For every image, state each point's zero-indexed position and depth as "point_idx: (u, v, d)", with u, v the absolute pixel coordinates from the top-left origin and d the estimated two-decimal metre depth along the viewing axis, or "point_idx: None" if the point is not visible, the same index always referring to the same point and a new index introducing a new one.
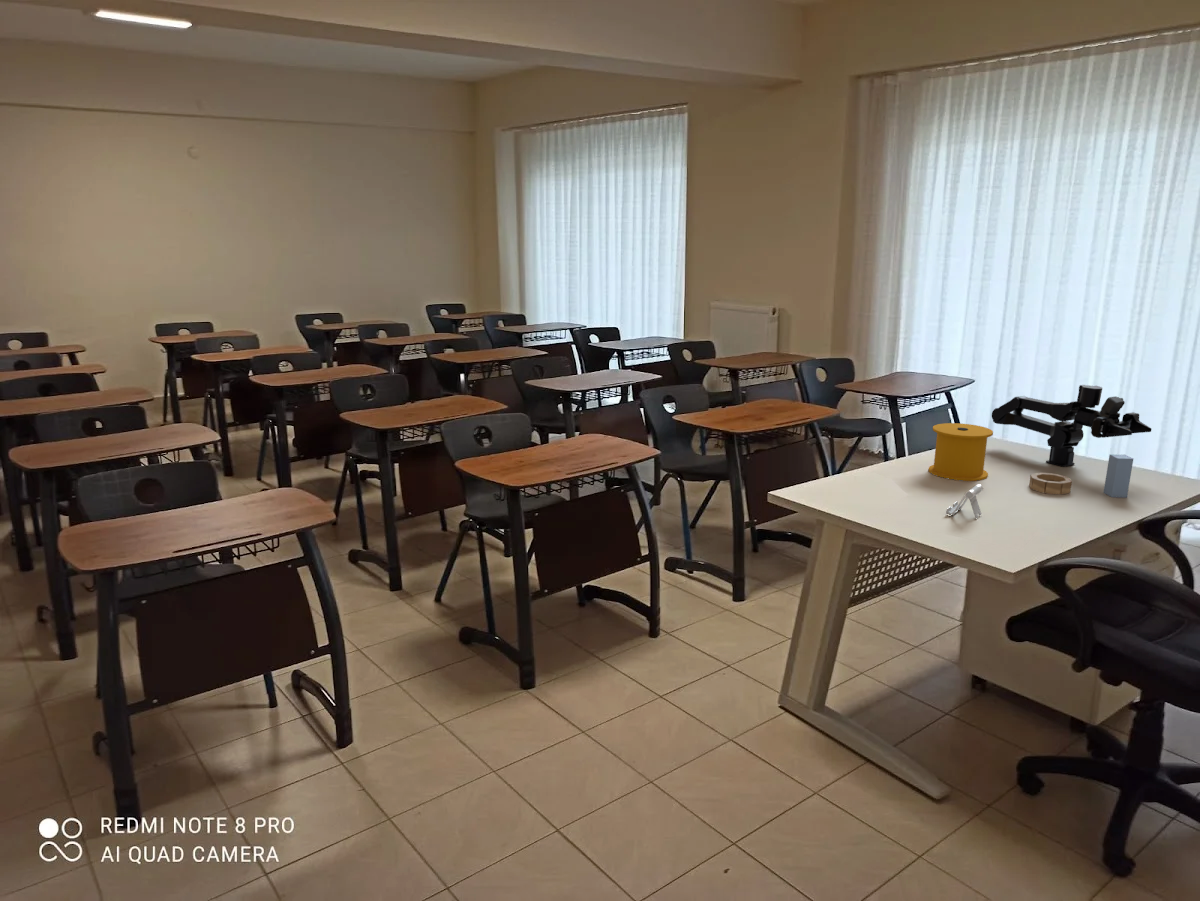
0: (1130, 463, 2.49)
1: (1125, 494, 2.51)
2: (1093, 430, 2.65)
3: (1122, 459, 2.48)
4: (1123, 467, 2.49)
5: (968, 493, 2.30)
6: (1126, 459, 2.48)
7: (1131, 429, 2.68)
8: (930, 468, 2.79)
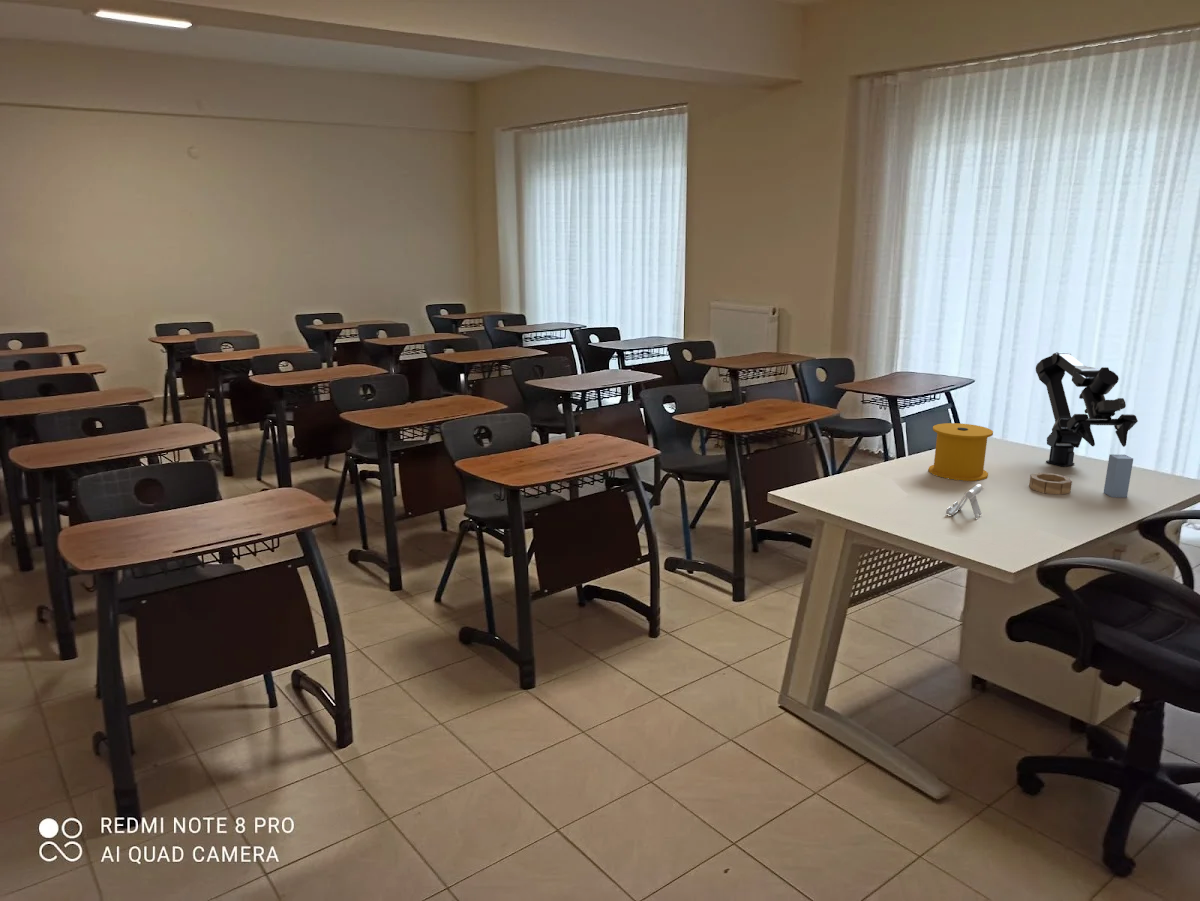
0: (1130, 463, 2.49)
1: (1125, 494, 2.51)
2: (1068, 422, 2.63)
3: (1122, 459, 2.48)
4: (1123, 467, 2.49)
5: (968, 493, 2.30)
6: (1126, 459, 2.48)
7: (1117, 431, 2.61)
8: (930, 468, 2.79)
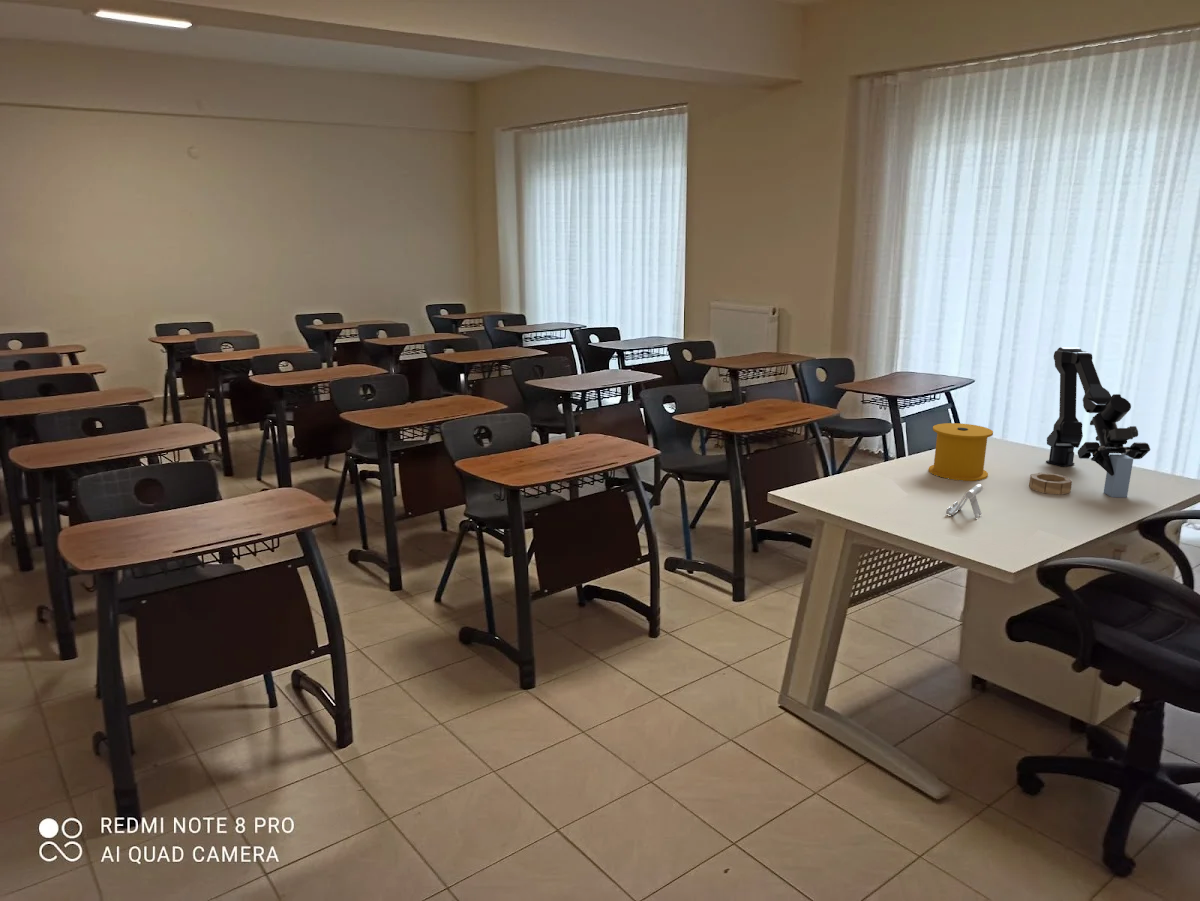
0: (1130, 463, 2.49)
1: (1125, 494, 2.51)
2: (1079, 450, 2.56)
3: (1122, 459, 2.48)
4: (1123, 467, 2.49)
5: (968, 493, 2.30)
6: (1126, 459, 2.48)
7: None
8: (930, 468, 2.79)
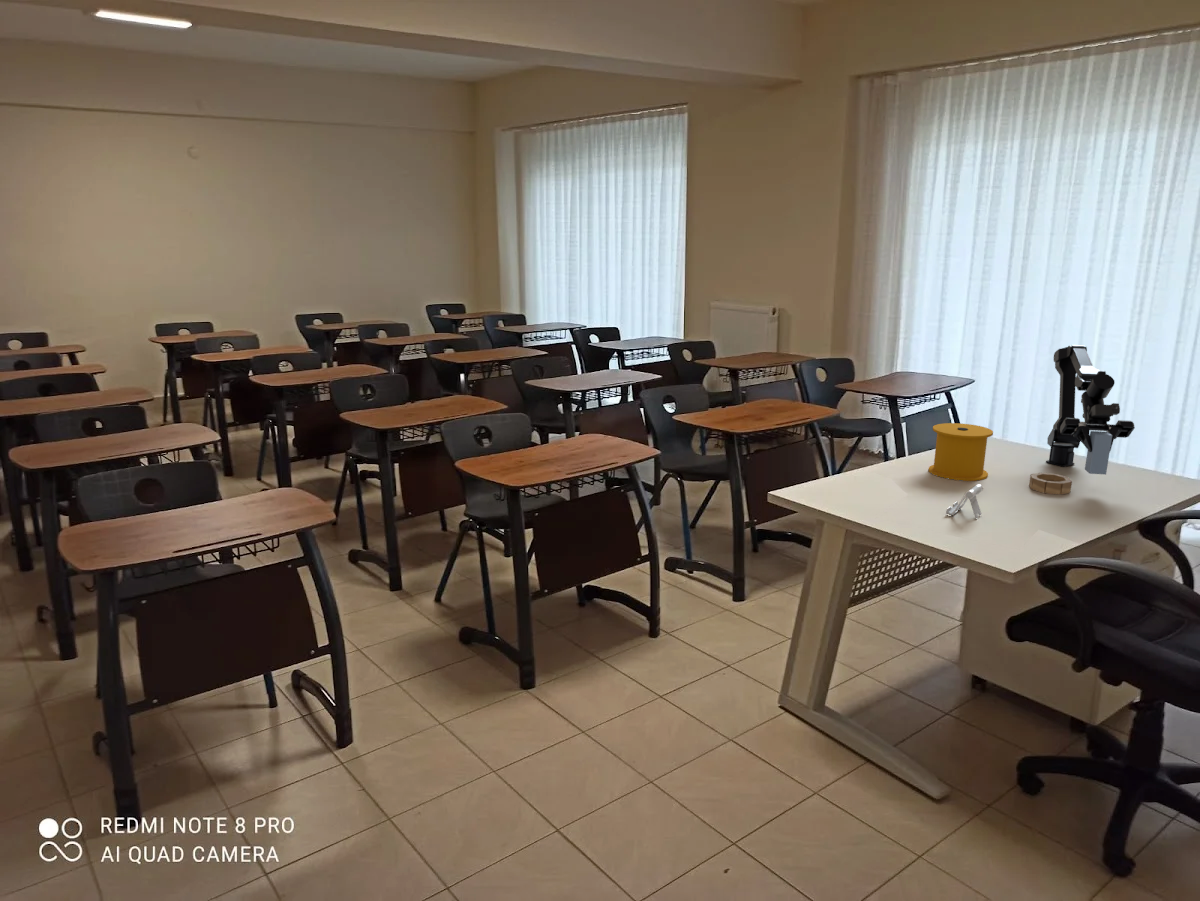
0: (1109, 440, 2.48)
1: (1104, 471, 2.50)
2: (1061, 426, 2.57)
3: (1100, 435, 2.48)
4: (1101, 444, 2.49)
5: (968, 493, 2.30)
6: (1104, 436, 2.48)
7: None
8: (930, 468, 2.79)
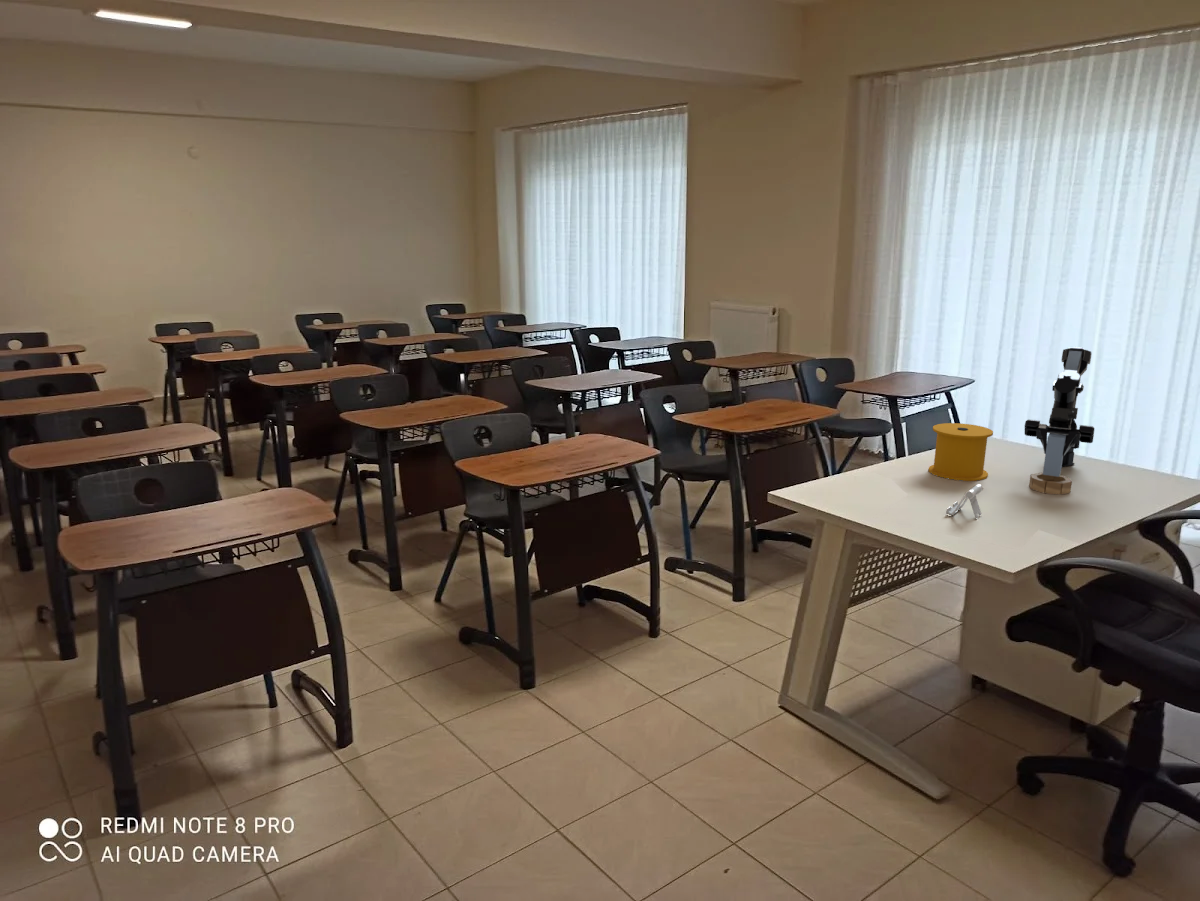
0: (1061, 443, 2.53)
1: (1057, 473, 2.55)
2: None
3: (1052, 438, 2.54)
4: (1054, 446, 2.54)
5: (968, 493, 2.30)
6: (1057, 438, 2.53)
7: None
8: (930, 468, 2.79)
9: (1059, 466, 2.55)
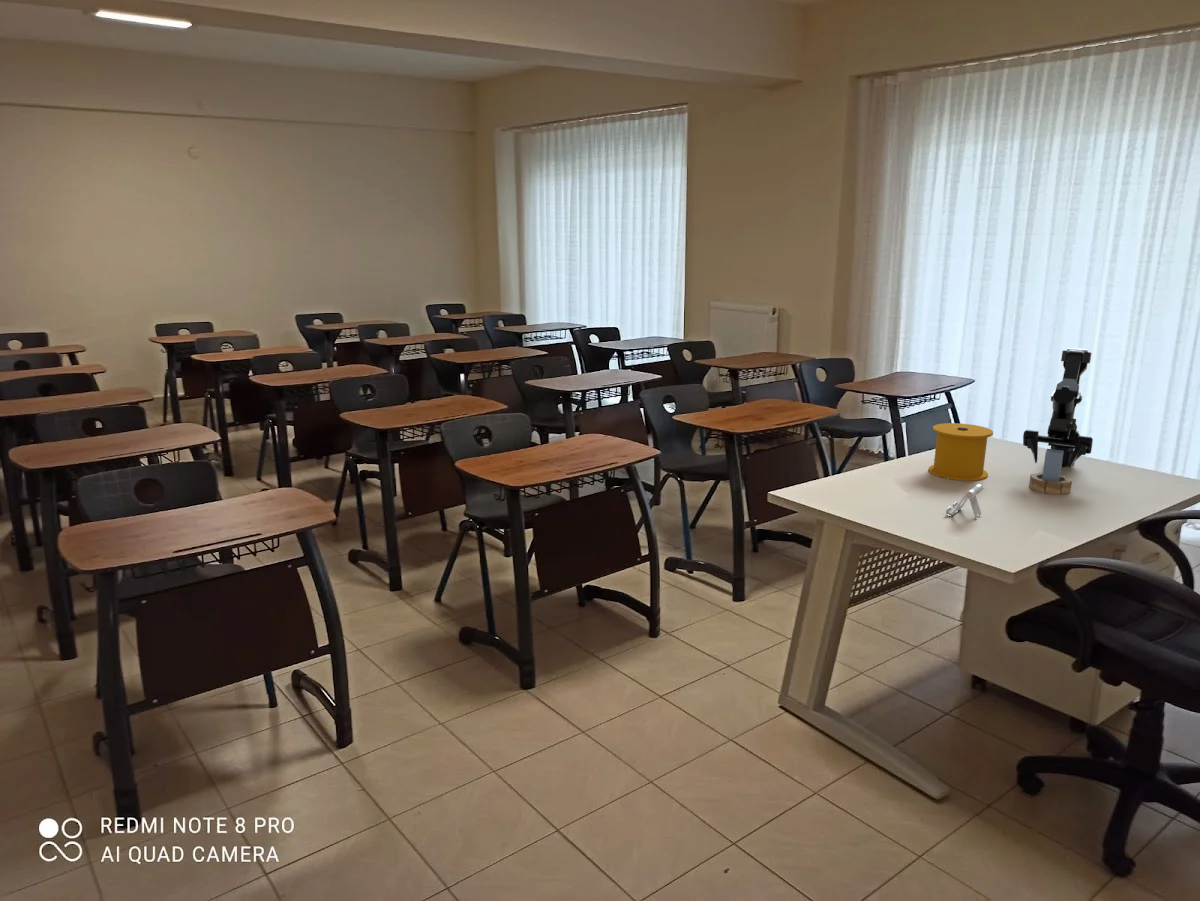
0: (1059, 458, 2.54)
1: None
2: None
3: (1050, 453, 2.55)
4: (1052, 461, 2.55)
5: (968, 493, 2.30)
6: (1055, 453, 2.55)
7: None
8: (930, 468, 2.79)
9: (1057, 481, 2.56)
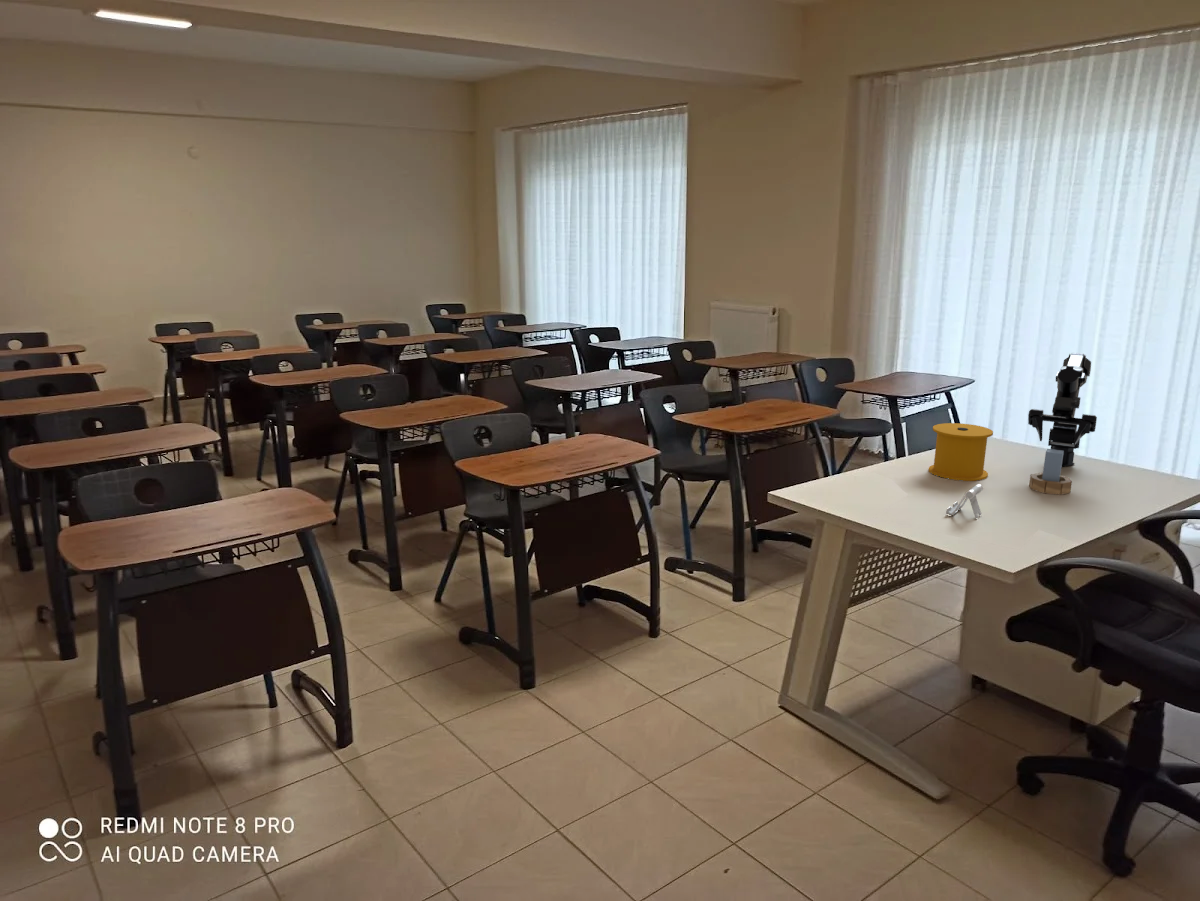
0: (1059, 458, 2.54)
1: None
2: None
3: (1050, 453, 2.55)
4: (1052, 461, 2.55)
5: (968, 493, 2.30)
6: (1055, 453, 2.55)
7: None
8: (930, 468, 2.79)
9: (1057, 481, 2.56)
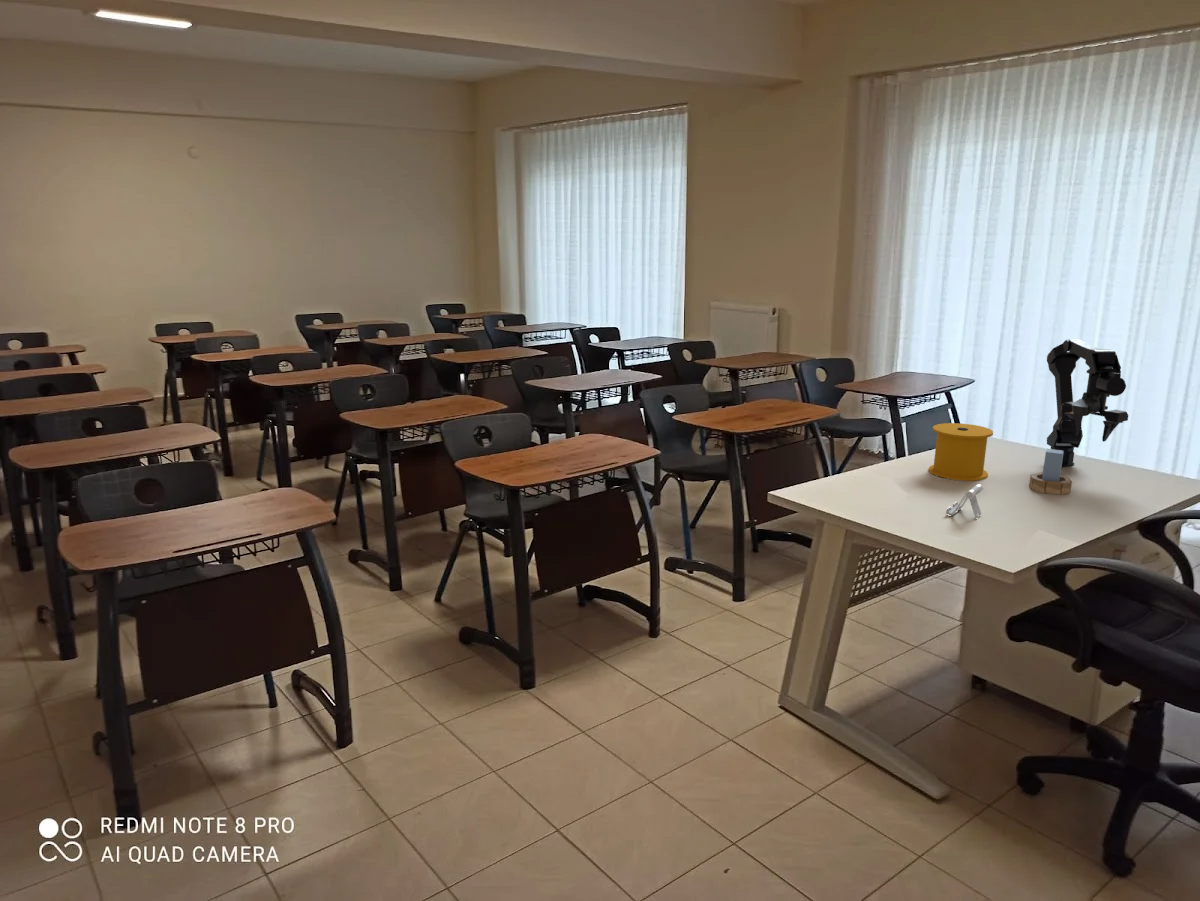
0: (1059, 458, 2.54)
1: None
2: None
3: (1050, 453, 2.55)
4: (1052, 461, 2.55)
5: (968, 493, 2.30)
6: (1055, 453, 2.55)
7: None
8: (930, 468, 2.79)
9: (1057, 481, 2.56)
